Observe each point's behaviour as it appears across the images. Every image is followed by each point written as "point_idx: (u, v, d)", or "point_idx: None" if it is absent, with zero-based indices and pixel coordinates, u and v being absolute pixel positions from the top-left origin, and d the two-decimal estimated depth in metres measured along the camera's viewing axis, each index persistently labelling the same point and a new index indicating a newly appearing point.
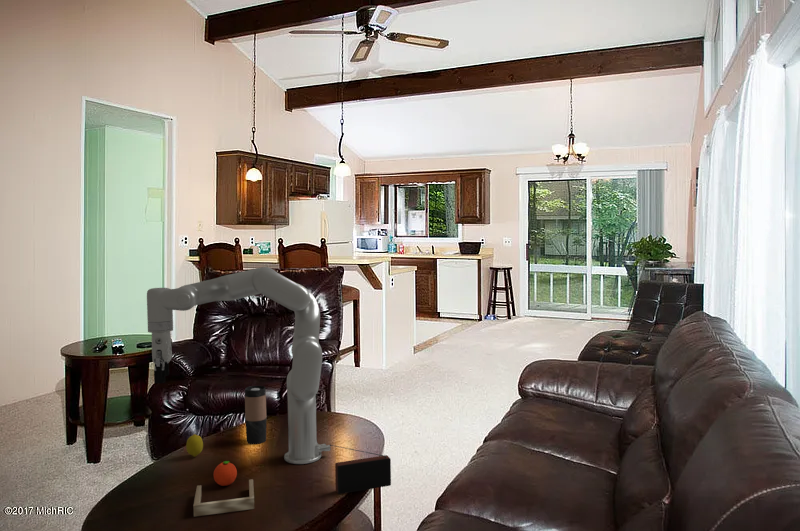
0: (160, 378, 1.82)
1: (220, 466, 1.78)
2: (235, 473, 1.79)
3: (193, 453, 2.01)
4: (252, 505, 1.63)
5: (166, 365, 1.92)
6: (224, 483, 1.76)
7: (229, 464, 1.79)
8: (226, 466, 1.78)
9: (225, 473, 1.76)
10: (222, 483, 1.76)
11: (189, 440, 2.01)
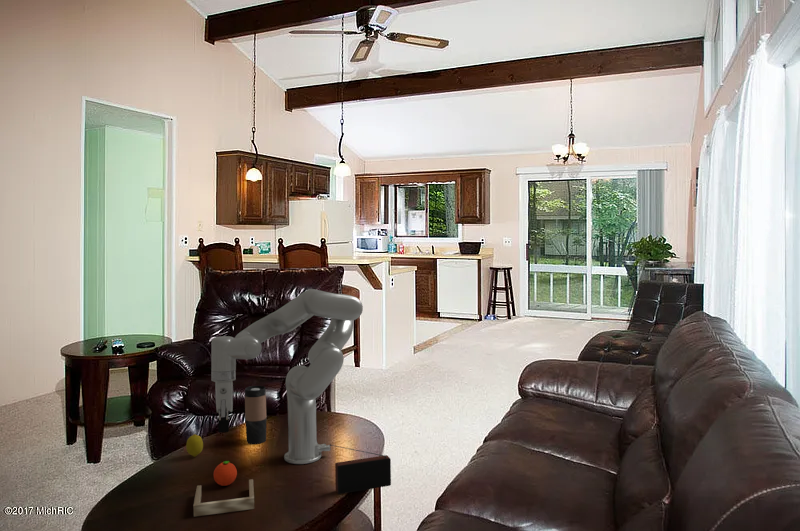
0: (224, 427, 1.87)
1: (220, 466, 1.78)
2: (235, 473, 1.79)
3: (193, 453, 2.01)
4: (252, 505, 1.63)
5: None
6: (224, 483, 1.76)
7: (229, 464, 1.79)
8: (226, 466, 1.78)
9: (225, 473, 1.76)
10: (222, 483, 1.76)
11: (189, 440, 2.01)
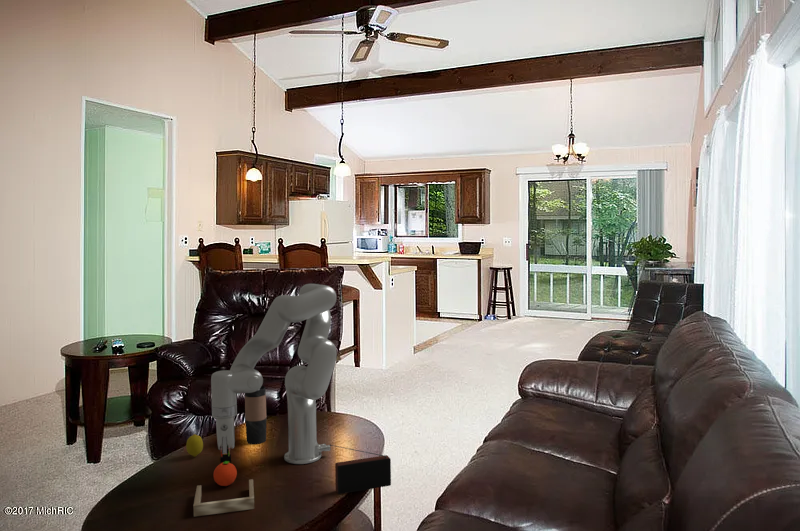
0: None
1: (220, 466, 1.77)
2: (235, 473, 1.78)
3: (193, 453, 2.01)
4: (252, 505, 1.63)
5: None
6: (224, 483, 1.76)
7: (229, 464, 1.79)
8: (226, 466, 1.77)
9: (225, 473, 1.76)
10: (222, 483, 1.76)
11: (189, 440, 2.01)
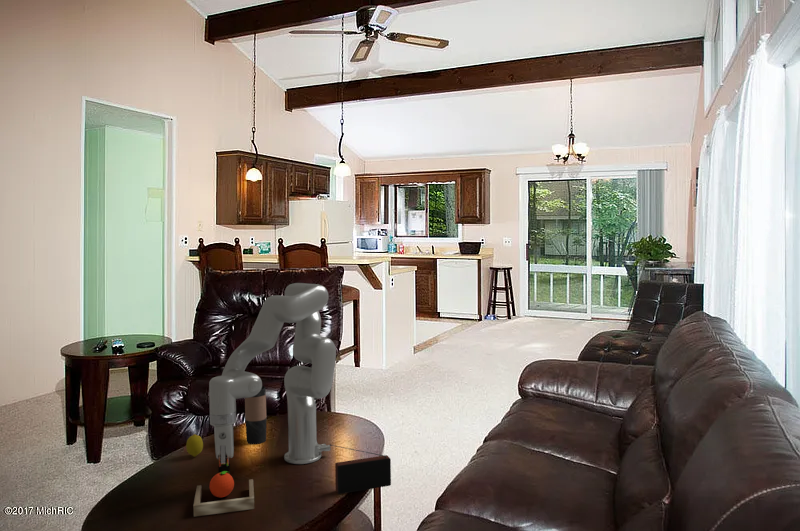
0: None
1: (216, 477, 1.69)
2: (231, 485, 1.70)
3: (193, 453, 2.01)
4: (252, 505, 1.63)
5: None
6: (219, 495, 1.68)
7: (225, 475, 1.70)
8: (222, 477, 1.69)
9: (219, 485, 1.68)
10: (217, 495, 1.68)
11: (189, 440, 2.01)
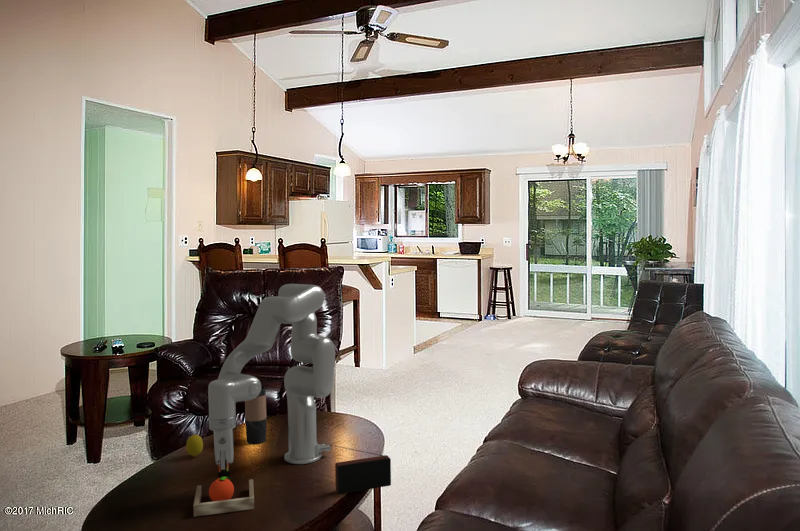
0: None
1: (215, 482, 1.65)
2: (231, 491, 1.66)
3: (193, 453, 2.01)
4: (252, 505, 1.63)
5: None
6: None
7: (225, 481, 1.66)
8: (221, 483, 1.65)
9: (219, 491, 1.64)
10: None
11: (189, 440, 2.01)
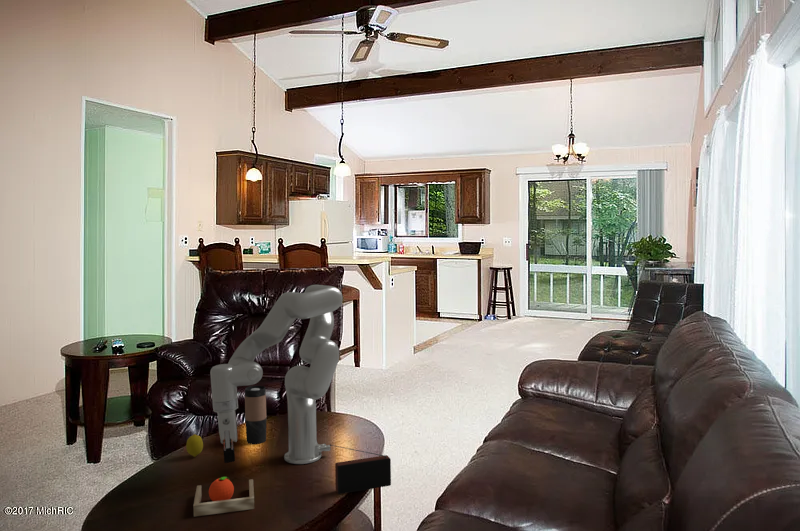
0: (230, 457, 1.82)
1: (215, 482, 1.66)
2: (231, 491, 1.66)
3: (193, 453, 2.01)
4: (252, 505, 1.63)
5: None
6: None
7: (225, 481, 1.66)
8: (221, 483, 1.65)
9: (218, 490, 1.64)
10: None
11: (189, 440, 2.01)
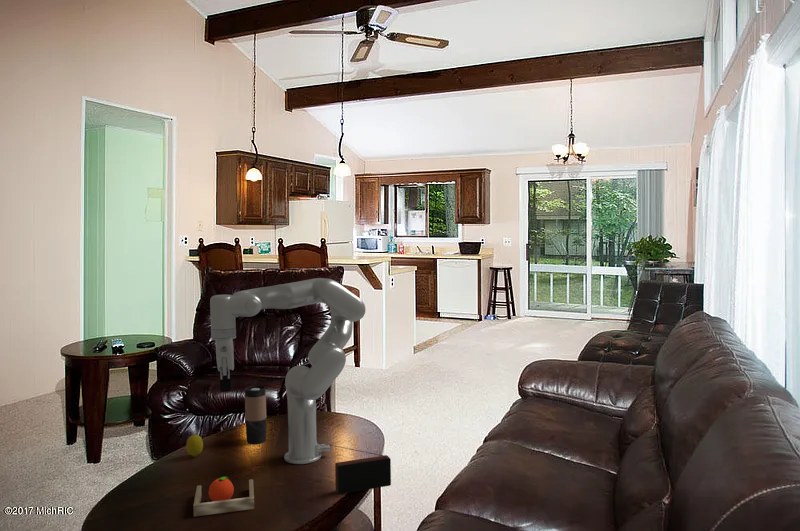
0: (226, 387, 1.85)
1: (215, 482, 1.66)
2: (230, 491, 1.66)
3: (193, 453, 2.01)
4: (252, 505, 1.63)
5: None
6: None
7: (224, 481, 1.66)
8: (221, 483, 1.65)
9: (218, 491, 1.64)
10: None
11: (189, 440, 2.01)
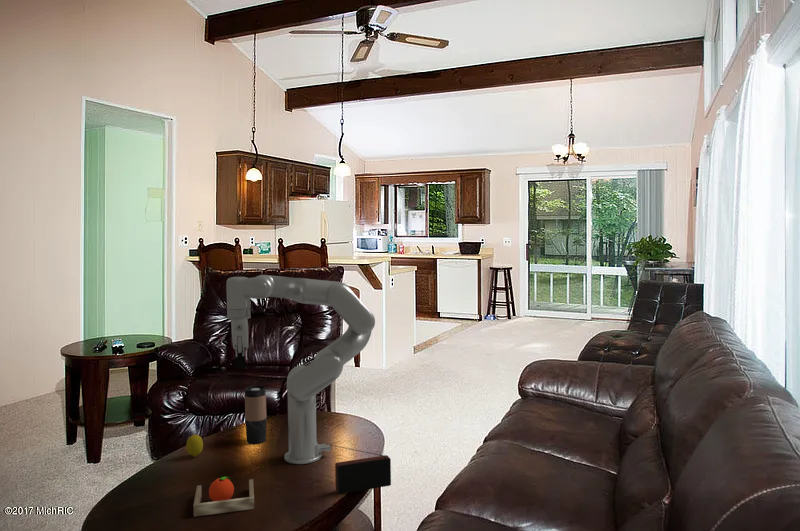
0: (241, 364, 1.95)
1: (215, 482, 1.66)
2: (230, 491, 1.66)
3: (193, 453, 2.01)
4: (252, 505, 1.63)
5: None
6: (218, 500, 1.64)
7: (225, 481, 1.66)
8: (221, 483, 1.65)
9: (218, 490, 1.64)
10: None
11: (189, 440, 2.01)
